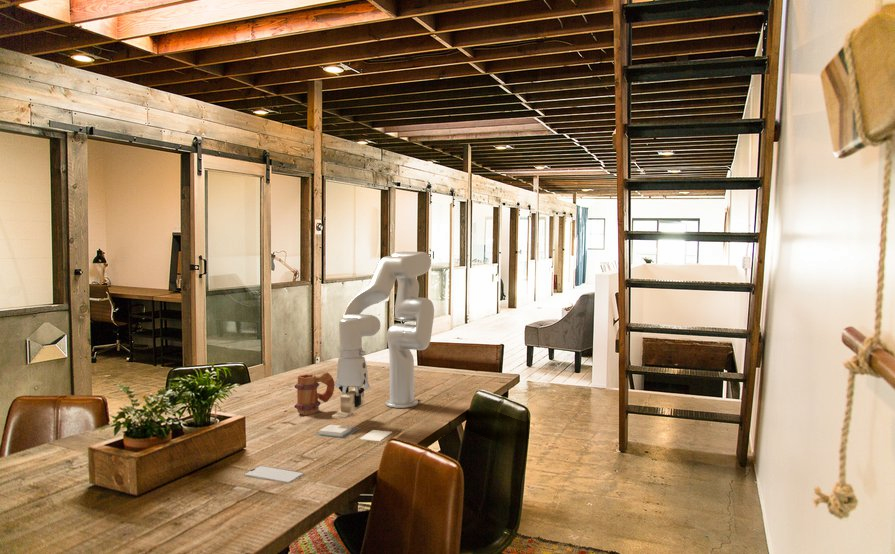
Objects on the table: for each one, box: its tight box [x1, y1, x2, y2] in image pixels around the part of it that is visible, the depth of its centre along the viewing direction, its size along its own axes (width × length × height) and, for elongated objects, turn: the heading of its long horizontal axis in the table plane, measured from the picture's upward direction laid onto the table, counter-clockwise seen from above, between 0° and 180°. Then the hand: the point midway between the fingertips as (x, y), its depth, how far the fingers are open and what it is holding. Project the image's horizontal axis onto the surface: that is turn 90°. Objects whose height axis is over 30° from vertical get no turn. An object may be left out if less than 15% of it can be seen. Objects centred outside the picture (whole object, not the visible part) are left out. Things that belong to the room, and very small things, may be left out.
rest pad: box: [359, 429, 393, 443], centre depth 198 cm, size 10×7×1 cm
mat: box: [314, 426, 361, 439], centre depth 203 cm, size 12×11×1 cm
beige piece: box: [331, 387, 365, 420], centre depth 210 cm, size 16×5×6 cm, turn 162°
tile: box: [318, 424, 352, 438], centre depth 201 cm, size 2×8×7 cm
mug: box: [294, 371, 335, 416], centre depth 227 cm, size 15×8×15 cm, turn 105°
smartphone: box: [243, 465, 305, 484], centre depth 166 cm, size 7×1×15 cm
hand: (352, 405), depth 212 cm, fingers closed on beige piece, 3 cm apart
